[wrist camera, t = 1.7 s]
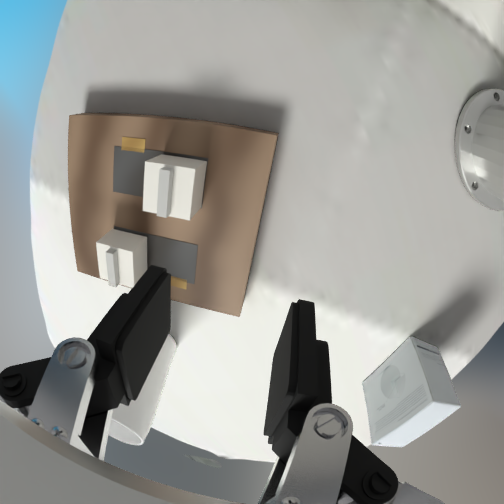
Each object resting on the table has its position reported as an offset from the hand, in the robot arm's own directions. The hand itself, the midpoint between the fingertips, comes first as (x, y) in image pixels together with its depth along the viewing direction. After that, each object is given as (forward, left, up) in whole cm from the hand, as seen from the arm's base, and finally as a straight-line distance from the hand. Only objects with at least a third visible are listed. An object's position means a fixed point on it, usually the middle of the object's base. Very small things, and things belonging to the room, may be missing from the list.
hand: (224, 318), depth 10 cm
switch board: (+10, +4, -17) cm, 20 cm away
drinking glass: (+10, +23, -18) cm, 31 cm away
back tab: (+12, +8, -15) cm, 20 cm away
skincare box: (-23, +19, -18) cm, 35 cm away
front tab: (+7, 0, -15) cm, 16 cm away
